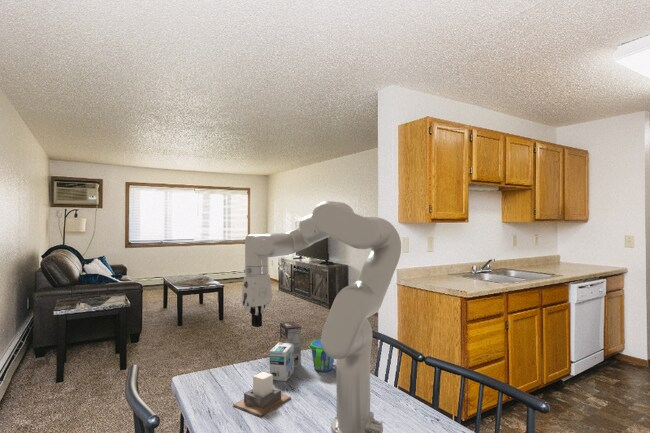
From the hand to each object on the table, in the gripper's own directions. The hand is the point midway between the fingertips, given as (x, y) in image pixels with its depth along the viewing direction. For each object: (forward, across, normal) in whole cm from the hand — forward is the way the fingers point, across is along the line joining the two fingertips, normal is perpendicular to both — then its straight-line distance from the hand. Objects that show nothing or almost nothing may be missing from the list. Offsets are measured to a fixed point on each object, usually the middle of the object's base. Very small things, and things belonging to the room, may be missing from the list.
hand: (256, 326), depth 121 cm
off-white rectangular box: (+23, -1, -4) cm, 23 cm away
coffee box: (+24, +30, +10) cm, 40 cm away
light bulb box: (+24, +19, +5) cm, 31 cm away
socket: (+24, -1, -3) cm, 24 cm away
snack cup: (+24, +33, -4) cm, 41 cm away
